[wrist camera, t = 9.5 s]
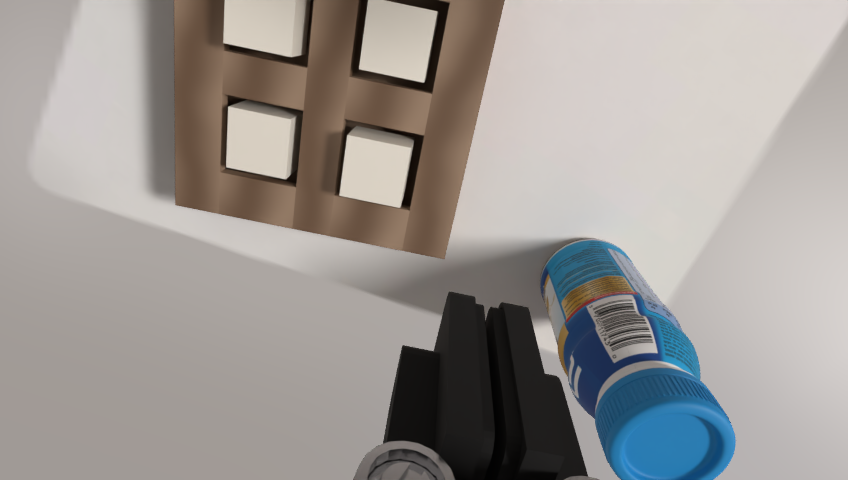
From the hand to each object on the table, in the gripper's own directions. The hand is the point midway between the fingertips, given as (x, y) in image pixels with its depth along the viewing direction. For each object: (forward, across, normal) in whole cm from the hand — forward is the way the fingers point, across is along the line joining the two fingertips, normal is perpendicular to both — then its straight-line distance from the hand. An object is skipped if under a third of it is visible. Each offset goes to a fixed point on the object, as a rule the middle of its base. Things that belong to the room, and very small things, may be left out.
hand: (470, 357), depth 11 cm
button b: (+31, +14, +5) cm, 35 cm away
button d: (+30, +5, +5) cm, 31 cm away
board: (+32, +10, 0) cm, 34 cm away
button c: (+30, +14, -4) cm, 34 cm away
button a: (+31, +5, -4) cm, 32 cm away
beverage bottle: (+32, -14, +12) cm, 37 cm away
